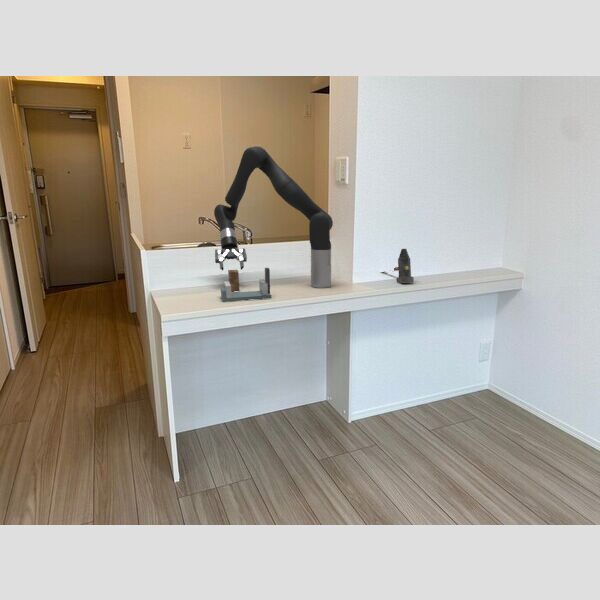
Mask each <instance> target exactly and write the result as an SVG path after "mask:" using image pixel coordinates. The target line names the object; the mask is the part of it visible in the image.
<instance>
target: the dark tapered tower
mask: <svg viewBox="0 0 600 600" xmlns="http://www.w3.org/2000/svg"><path fill="white" fill-rule="evenodd" d="M411 264H412V263H411V257H410V256H409V252H408V250H407V248H401V250H400V253H399V257H398V258H397V265H398V266H395V268H394V271H393V272H397V271H398V277H396V283H397V284H406V283H407V284H408V283H409V284H410V283H413V282H414V279H415V278H414V276H412V269H411Z"/></svg>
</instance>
